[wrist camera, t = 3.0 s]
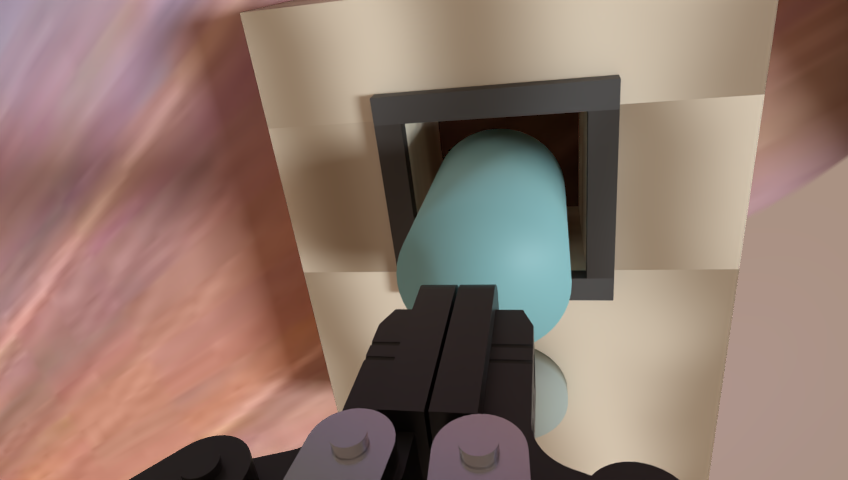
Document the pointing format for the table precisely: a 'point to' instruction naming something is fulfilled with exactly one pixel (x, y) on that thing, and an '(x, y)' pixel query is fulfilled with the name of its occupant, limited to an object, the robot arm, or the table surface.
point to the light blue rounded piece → (494, 227)
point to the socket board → (587, 223)
